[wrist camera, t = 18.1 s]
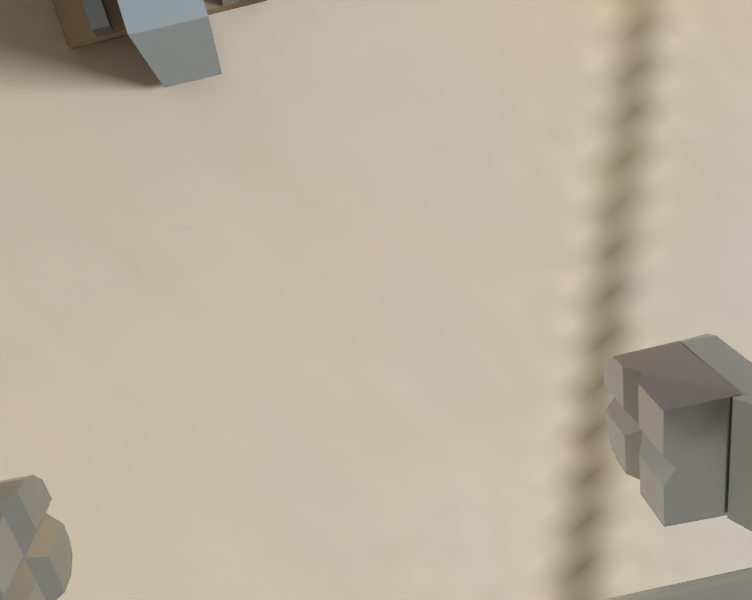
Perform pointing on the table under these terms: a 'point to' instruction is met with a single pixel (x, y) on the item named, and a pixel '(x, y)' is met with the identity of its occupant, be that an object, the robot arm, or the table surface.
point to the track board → (111, 18)
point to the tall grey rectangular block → (172, 38)
